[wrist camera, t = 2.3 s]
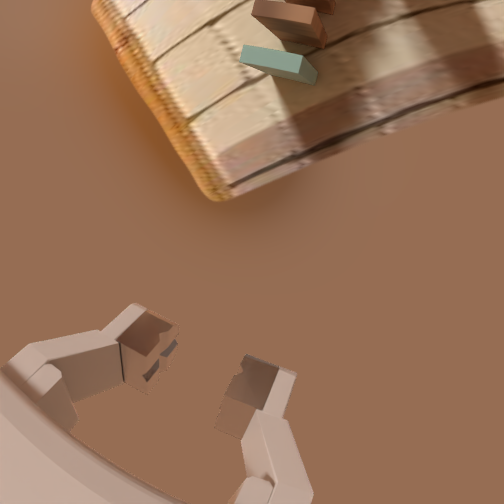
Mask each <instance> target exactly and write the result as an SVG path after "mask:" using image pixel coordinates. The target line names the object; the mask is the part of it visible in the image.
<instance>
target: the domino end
mask: <svg viewBox="0 0 504 504" xmlns="http://www.w3.org/2000/svg"><path fill="white" fill-rule="evenodd" d="M239 62H241V63H243V64H246V65H248V66H251V67H253V68H255V69H258V70H260V71H263V72H265V73H267V74H270V75H272V76H277V77H282V78H286V79H290V80H295V81H299V82H303V83H307V84H310V85H314V86H315V83H316V79H317V75H318V72H317V71H316V69H315V68H314V67H313V66H312V65H311V64H310V63H309V62H308V61H307V59H306V58H305V57H304V56H303V55H298V54H294V53H289V52H284V51H279V50H273V49H268V48H262V47H255V46H249V45H243V49H242V53H241V57H240V61H239Z"/></svg>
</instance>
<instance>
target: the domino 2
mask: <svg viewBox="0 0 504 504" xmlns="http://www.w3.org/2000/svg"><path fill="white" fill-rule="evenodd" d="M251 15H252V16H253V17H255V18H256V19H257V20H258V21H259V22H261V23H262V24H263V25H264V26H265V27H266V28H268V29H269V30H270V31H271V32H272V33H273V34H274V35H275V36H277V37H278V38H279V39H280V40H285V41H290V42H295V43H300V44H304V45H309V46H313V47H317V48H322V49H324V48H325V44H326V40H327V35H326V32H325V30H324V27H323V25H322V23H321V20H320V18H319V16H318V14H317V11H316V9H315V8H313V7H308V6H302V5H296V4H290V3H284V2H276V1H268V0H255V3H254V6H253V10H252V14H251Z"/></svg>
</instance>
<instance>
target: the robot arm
mask: <svg viewBox="0 0 504 504" xmlns="http://www.w3.org/2000/svg"><path fill="white" fill-rule="evenodd" d="M178 334H179V325H178V324H176V323H175V322H172V321H171V320H169V319H166V318H165V317H163V316H161V315H159V314H157V313H155V312H153V311H151V310H149V309H147V308H145V307H143V306H141V305H139V304H138V303H133V304H131V305H130V306H129V307H127V308H126V309H125V310H124V311H123V312H122V313H121V314H120V315H118V316H117V317H116V318H115V319H114V320H113V321H112V322H111V323H110V324H109V325H107V326H106V327H105V328H104V329H103V330H102V331H101V332H100V331H99V330H93V331H88V332H84V333H79V334H75V335H70V336H65V337H61V338H55V339H50V340H46V341H41V342H35V343H31V344H28V345H27V346H26V347H25V348H24V349H22V350H21V351H20V352H19V353H18V354H16V355H15V356H14V357H13V358H12V359H11V360H10V361H8V362H7V363H6V364H5V365H4V366H3V367H1V368H0V504H190V503H188V502H186V501H184V500H181V499H179V498H177V497H175V496H173V495H171V494H169V493H167V492H165V491H163V490H161V489H159V488H157V487H155V486H153V485H151V484H150V483H148V482H146V481H144V480H142V479H140V478H139V477H137V476H135V475H133V474H131V473H130V472H128V471H126V470H125V469H123V468H122V467H120V466H118V465H117V464H115V463H114V462H112V461H110V460H109V459H107V458H106V457H104V456H103V455H101V454H100V453H98V452H97V451H95V450H94V449H92V448H91V447H89V446H88V445H87V444H85V443H84V442H83V441H81V440H80V439H78V438H77V437H76V436H74V435H73V434H72V433H71V432H70V431H71V429H72V428H73V427H74V426H75V425H76V423H77V422H78V421H79V416H78V414H77V411H76V409H75V406H74V404H73V403H74V402H77V401H80V400H83V399H85V398H88V397H91V396H93V395H96V394H98V393H101V392H104V391H106V390H109V389H111V388H114V387H117V386H119V385H121V384H123V383H126V384H128V385H130V386H132V387H134V388H135V389H137V390H139V391H141V392H143V393H145V394H147V395H148V394H149V393H150V391H151V390H152V389H153V387H154V386H155V385H156V384H157V382H158V381H159V373H160V372H164V371H167V369H168V368H169V366H170V365H171V363H172V361H173V360H174V357H175V355H176V352H177V346H178V343H177V342H176V340H175V338H176V336H177V335H178ZM296 377H297V373H296V372H293V371H291V370H288V369H285V368H282V367H279V366H277V365H274V364H272V363H269V362H266V361H264V360H261V359H259V358H256V357H253V356H251V355H248V354H246V355H245V356H244V358H243V360H242V362H241V364H240V367H239V370H238V373H237V375H234V377H233V379H232V381H231V383H230V384H229V386H228V388H227V390H226V392H225V394H224V396H223V400H222V403H221V406H220V410H221V411H220V413H219V415H218V416H217V420H216V423H215V427H214V428H216V429H218V430H220V431H222V432H224V433H226V434H229V435H231V436H233V437H235V438H238V439H240V440H241V445H242V451H243V456H244V461H245V467H246V472H247V479H245V480H244V482H243V483H242V484H241V486H240V487H239V488H238V489H237V491H236V492H235V493H234V495H233V496H232V497H231V498H230V500H229V501H228V503H227V504H311V501H312V497H313V494H314V493H313V491H312V488H311V485H310V482H309V479H308V477H307V474H306V471H305V468H304V465H303V463H302V460H301V457H300V454H299V451H298V448H297V445H296V443H295V440H294V437H293V434H292V432H291V428H290V425H289V422H288V421H287V420H285V419H283V416H284V413H285V411H286V408H287V405H288V401H289V398H290V396H291V392H292V389H293V386H294V383H295V380H296Z"/></svg>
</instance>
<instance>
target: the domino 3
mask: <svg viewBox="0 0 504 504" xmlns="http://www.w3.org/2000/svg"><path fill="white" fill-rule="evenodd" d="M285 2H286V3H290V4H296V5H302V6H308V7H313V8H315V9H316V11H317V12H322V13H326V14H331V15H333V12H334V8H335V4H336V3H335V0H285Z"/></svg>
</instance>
